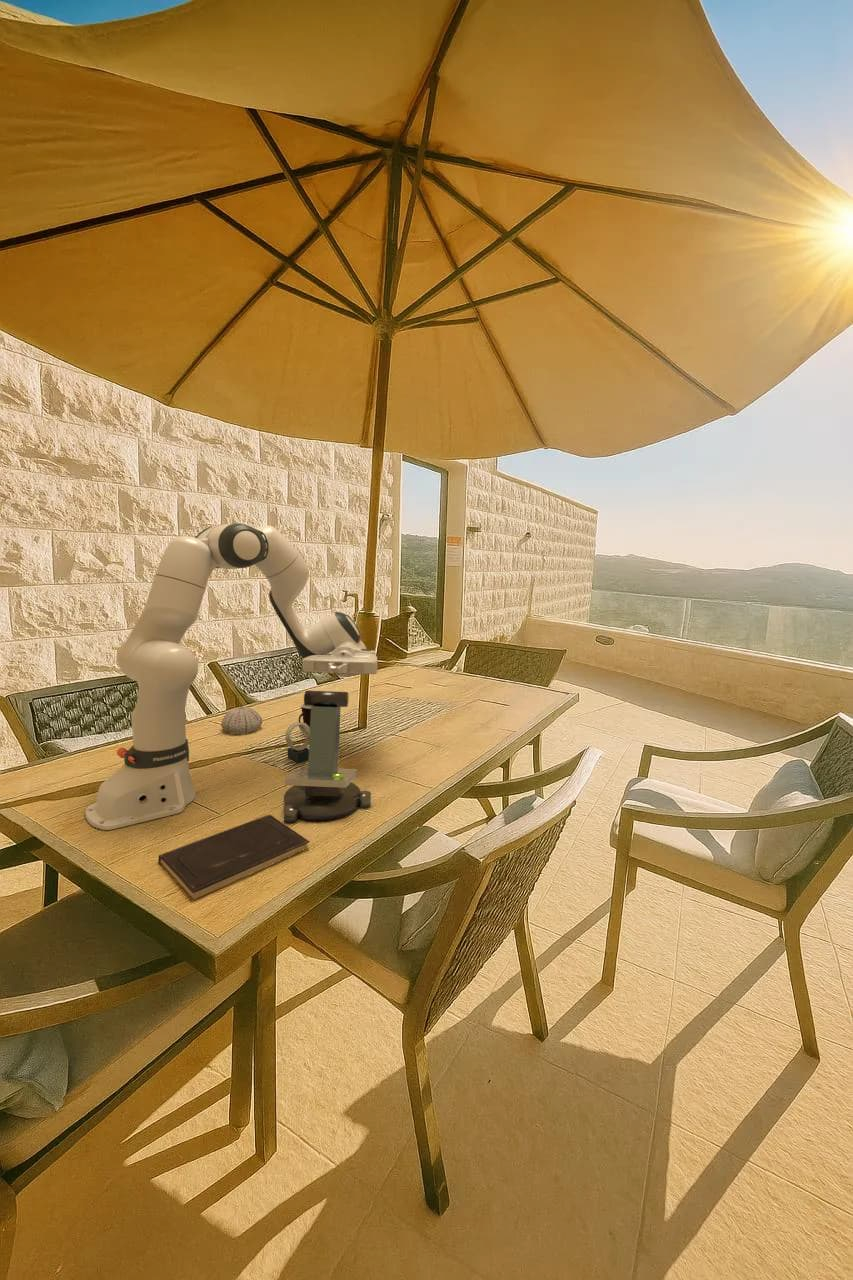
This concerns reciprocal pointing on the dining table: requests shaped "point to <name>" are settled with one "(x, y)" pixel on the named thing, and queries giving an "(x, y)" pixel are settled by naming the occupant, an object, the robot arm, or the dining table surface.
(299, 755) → the watch
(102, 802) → the robot arm
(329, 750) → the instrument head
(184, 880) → the hardcover book
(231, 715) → the sea urchin shell
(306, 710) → the coffee mug
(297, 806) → the tribrach base
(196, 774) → the dining table surface
